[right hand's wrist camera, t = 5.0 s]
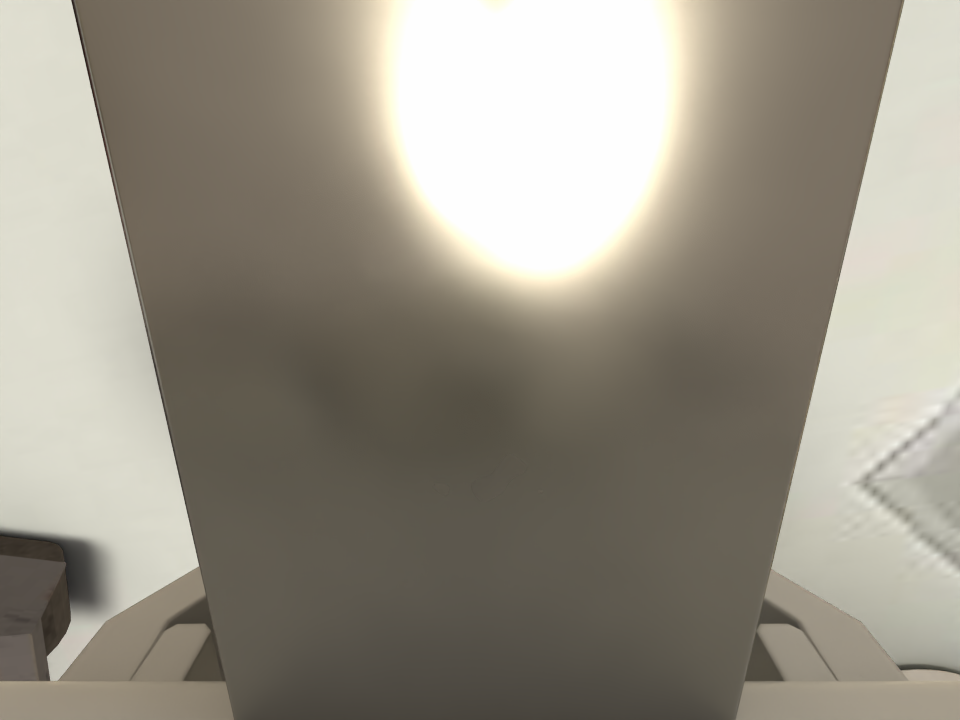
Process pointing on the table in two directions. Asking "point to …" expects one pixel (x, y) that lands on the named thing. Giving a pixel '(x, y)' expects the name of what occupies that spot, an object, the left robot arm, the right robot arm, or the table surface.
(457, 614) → the bar
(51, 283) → the table surface
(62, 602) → the toy
